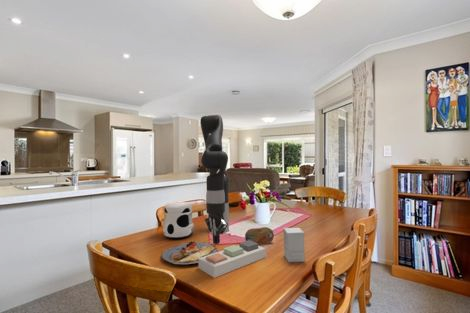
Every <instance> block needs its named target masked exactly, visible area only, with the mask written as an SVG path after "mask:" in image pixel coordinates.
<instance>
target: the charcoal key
mask: <svg viewBox="0 0 470 313" xmlns="http://www.w3.org/2000/svg"><path fill="white" fill-rule="evenodd" d="M238 245H239V247H241V248H243V250H245V251H248V252H250V251H252V250H255V249H258V246H259V245H258V243H255V242H253V241H250V240H248V241H246V240H245V241H242V242H239V244H238Z"/></svg>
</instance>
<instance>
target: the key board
mask: <svg viewBox="0 0 470 313" xmlns="http://www.w3.org/2000/svg"><path fill="white" fill-rule="evenodd" d="M237 246H238V247H239V244H238V245H237ZM266 252H267V251H266V247H263V246H261V245H258V249H255V250H252V251H250V252H248V251H245V250H243V254H241V255H239V256H236V257H233V258H232V257H230V256H228V255H226V254H224V249H223V250H220V251H217V252H216V253H213V254H217V253H219V254H221V255H223V256H225V257H227V260H225V261H222V262H219V263H216V264H213V263H211V262H210V261H208V260H206V257H207V256H210V255H213V254H210V255H207V256H204V257H201V258H198V260H199V263H198V269H199V270H201V271H203V272H204V273H206V274H208V275H209V276H210V277H212V278H213V279H215V278H218V277H220V276H223V275H225V274H228V273H230V272H233V271H235V270H237V269H240V268H243V267H246V266H247V265H249V264H252V263H254V262H255V263H256V262H257V261H260V260H263V259H265V258H266V257H267V256H266Z"/></svg>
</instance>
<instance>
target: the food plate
mask: <svg viewBox="0 0 470 313" xmlns="http://www.w3.org/2000/svg"><path fill="white" fill-rule="evenodd" d="M216 252H218V248H217V246H216V244H211V243H208V242H201V241H189V242H186V243H180V244H176V245H174V246H172V247H169V248H166V249H165V250H164V251H163V252H162V254H161V258H162V259H163V260H165V261H166V262H168V263H170V264H171V263H172V264H174V265H186V266H187V265H190V264H199V260H198V258H201V257H204V256H207V255H210V254H213V253H216Z"/></svg>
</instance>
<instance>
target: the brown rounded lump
mask: <svg viewBox="0 0 470 313" xmlns="http://www.w3.org/2000/svg"><path fill="white" fill-rule="evenodd" d="M274 234H275V233H274V231H273V230H272V229H271V228H270V227H268V226H267V227H266V226H263V227H261V226H260V227H253V228H249V229H248V230H247V231H245V234H244V239H245V241H248V240H250V241H253V242H255V243H258V246H263V245H269V244H271V243H272V242H273V240H274V237H275V236H274Z"/></svg>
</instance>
